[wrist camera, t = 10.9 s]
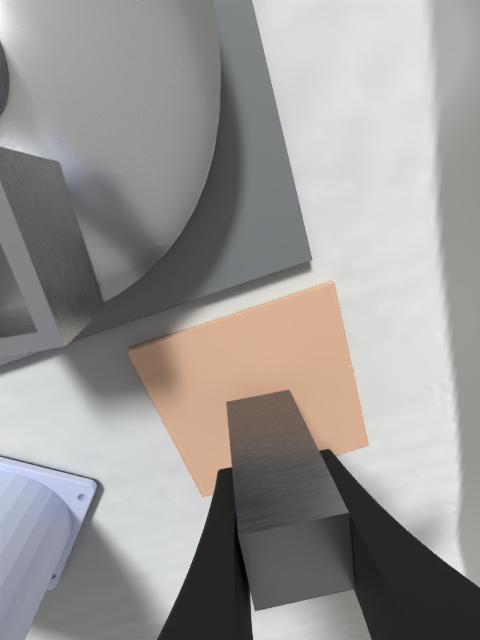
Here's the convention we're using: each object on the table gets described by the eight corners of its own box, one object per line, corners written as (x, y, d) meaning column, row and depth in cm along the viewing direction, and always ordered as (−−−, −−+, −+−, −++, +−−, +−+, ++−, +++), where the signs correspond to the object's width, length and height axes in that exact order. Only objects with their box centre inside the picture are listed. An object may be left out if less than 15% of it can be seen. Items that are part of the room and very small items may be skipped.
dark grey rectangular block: (226, 402, 14) (238, 535, 8) (289, 389, 14) (348, 512, 8) (236, 454, 15) (254, 611, 9) (296, 442, 15) (354, 588, 9)
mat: (365, 440, 18) (368, 445, 18) (202, 491, 18) (202, 497, 18) (331, 280, 14) (334, 283, 14) (128, 348, 15) (126, 352, 14)
